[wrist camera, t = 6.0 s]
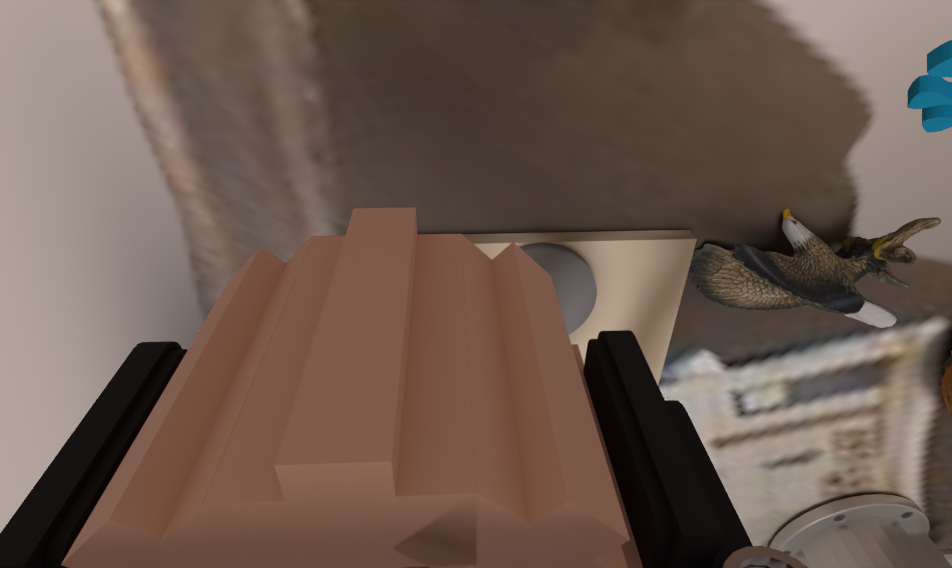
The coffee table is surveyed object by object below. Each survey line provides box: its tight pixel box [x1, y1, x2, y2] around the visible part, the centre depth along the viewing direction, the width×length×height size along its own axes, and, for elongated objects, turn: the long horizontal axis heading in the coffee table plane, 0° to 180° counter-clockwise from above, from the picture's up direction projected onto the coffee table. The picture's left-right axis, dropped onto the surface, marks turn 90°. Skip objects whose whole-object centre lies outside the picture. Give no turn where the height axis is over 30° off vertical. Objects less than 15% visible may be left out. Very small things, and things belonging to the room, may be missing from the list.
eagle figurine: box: [688, 208, 941, 328], centre depth 27 cm, size 8×7×9 cm
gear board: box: [463, 230, 697, 385], centre depth 32 cm, size 16×20×5 cm
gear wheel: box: [61, 207, 643, 568], centre depth 9 cm, size 7×7×5 cm
